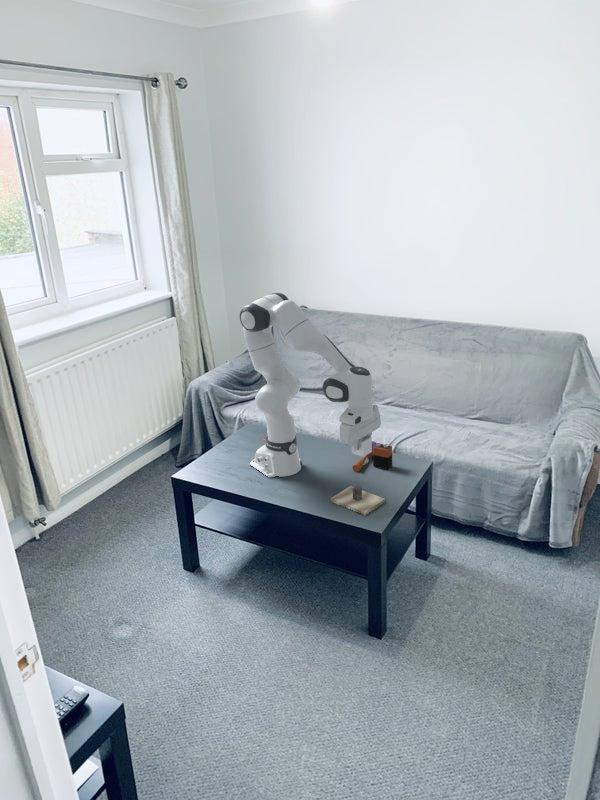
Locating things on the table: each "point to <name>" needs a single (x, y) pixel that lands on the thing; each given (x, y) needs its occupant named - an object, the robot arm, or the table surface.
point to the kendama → (363, 459)
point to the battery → (382, 456)
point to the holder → (357, 500)
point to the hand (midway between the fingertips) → (361, 446)
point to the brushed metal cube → (363, 446)
